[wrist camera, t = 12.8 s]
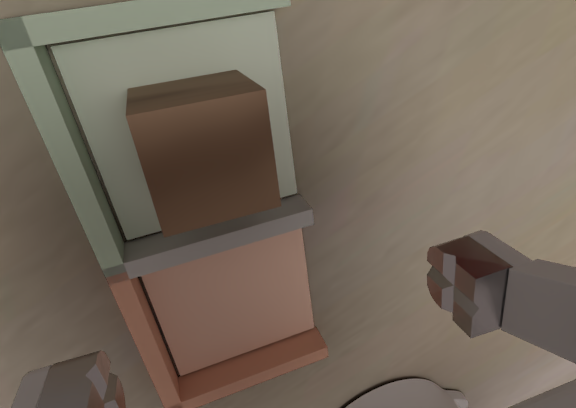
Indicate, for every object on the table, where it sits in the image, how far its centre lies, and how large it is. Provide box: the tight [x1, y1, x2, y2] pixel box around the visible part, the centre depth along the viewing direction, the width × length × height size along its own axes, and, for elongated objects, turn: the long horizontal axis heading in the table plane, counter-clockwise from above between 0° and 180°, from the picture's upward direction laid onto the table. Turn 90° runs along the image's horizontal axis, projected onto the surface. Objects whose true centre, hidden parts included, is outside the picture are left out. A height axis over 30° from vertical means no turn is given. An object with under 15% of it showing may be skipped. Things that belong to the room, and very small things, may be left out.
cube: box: [126, 70, 281, 237], centre depth 17 cm, size 5×5×5 cm
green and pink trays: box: [0, 0, 328, 408], centre depth 21 cm, size 23×11×2 cm, turn 8°
